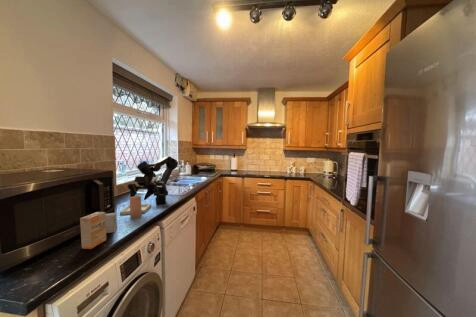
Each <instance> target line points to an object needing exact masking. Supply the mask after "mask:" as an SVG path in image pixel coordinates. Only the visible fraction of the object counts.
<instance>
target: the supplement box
mask: <svg viewBox="0 0 476 317" xmlns="http://www.w3.org/2000/svg"><path fill="white" fill-rule="evenodd" d="M105 214H106V212H105V211H96V212H93V213H90V214H88V215H86V216H83V217H80V218H79V224H80V239H81V240H80V241H81V242H80V243H81V249H83V250H85V249H86V250H92V249H94V248H95V247H97V246H98V245H101V244H102V243H104V242H106V241H107V233H106V220H105Z"/></svg>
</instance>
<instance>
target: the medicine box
mask: <svg viewBox="0 0 476 317" xmlns="http://www.w3.org/2000/svg"><path fill="white" fill-rule="evenodd" d="M105 220H106V234H111V233H115V232H117V230H118V222H117V213H116V212H111V213H105Z"/></svg>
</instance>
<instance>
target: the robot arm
mask: <svg viewBox="0 0 476 317" xmlns="http://www.w3.org/2000/svg"><path fill="white" fill-rule="evenodd" d="M165 165H166V168H165V170H164V172H163V174H162V177H161V178H160V180H159V182H155V183H153V179H154V178H156V177H157V175H156V173H157V172H159V171H160V170H161V169H162V168H161V167H162V166H165ZM178 165H179V161H178V160H177V159H176V158H174V157H172V156H169V155H165V156H163V157H162V158H160V159H159V160H156V161H155V162H149V163H148V162H147V161H145V160H143V161H142V162H141V163H139V164H138V165H137V166H136V167H137V169H138V170H139V172H140V173H141V174H142V175H143V176H140V175H139V176H138V175H137V176H136V175H135V177H134V182H135V183H128V185H127V186H126V187H127V189H128V190H130V192H129V193H130V194H129V198H130V197H133V196H137V193H138V191H139V190H146V194H144V197H143V200H144V201H146V200H147V199H148V198H150V197H151V196H152V195H153V196H154V197H155V206H158V205H159V206H161V205H166V204H167V203H168V202H167V196H168V195H169V190H167V183H168V181H169V179H170V177H171V174H172V173H173V171H174V170H175V169H177V167H178ZM155 172H156V173H155Z"/></svg>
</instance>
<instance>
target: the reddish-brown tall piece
mask: <svg viewBox="0 0 476 317" xmlns="http://www.w3.org/2000/svg"><path fill="white" fill-rule="evenodd" d="M141 204H142V196H141V195H135V196H133V197H130V196H129V205H130V214H129V216H130V219H133V220H134V219H140V218H142V216H143V215H142V214H143V213H142V211H141Z"/></svg>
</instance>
